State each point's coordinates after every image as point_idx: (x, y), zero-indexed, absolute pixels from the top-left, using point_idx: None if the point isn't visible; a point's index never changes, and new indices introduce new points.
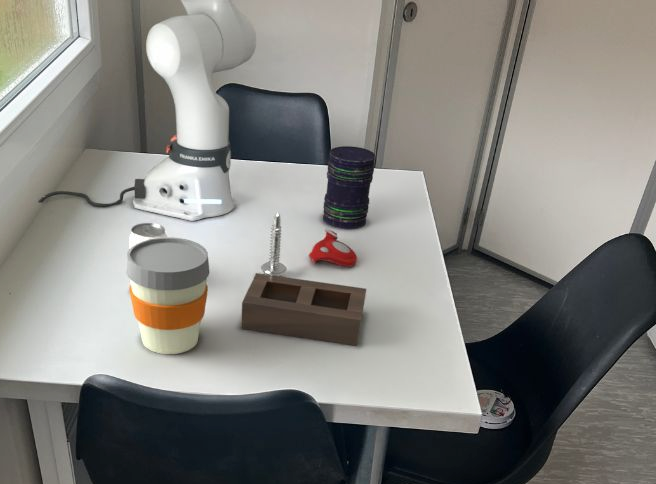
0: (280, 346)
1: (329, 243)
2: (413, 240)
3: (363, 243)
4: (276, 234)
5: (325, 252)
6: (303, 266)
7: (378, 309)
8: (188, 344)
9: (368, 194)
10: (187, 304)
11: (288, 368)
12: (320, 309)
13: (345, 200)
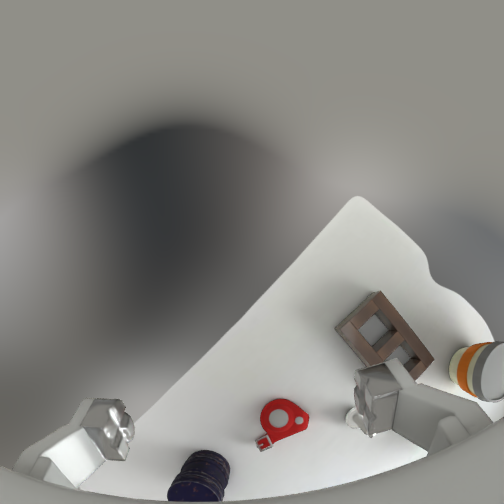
0: (416, 322)
1: (288, 425)
2: (180, 403)
3: (229, 427)
4: None
5: (301, 416)
6: (316, 421)
7: (317, 327)
8: (465, 347)
9: (189, 465)
10: (488, 342)
11: (427, 296)
12: (396, 320)
13: (219, 471)
